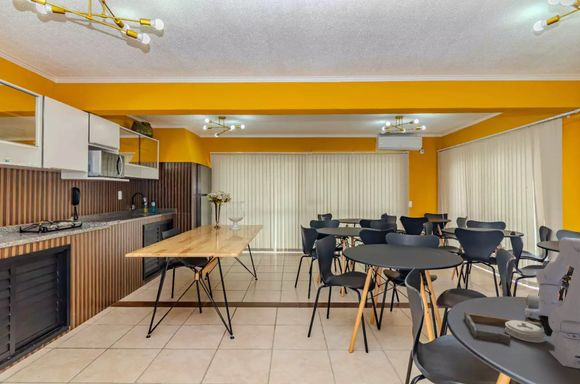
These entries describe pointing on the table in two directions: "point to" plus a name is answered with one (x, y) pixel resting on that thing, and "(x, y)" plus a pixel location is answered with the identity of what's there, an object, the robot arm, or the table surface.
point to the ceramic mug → (532, 302)
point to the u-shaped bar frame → (493, 320)
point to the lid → (525, 331)
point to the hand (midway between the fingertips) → (547, 335)
